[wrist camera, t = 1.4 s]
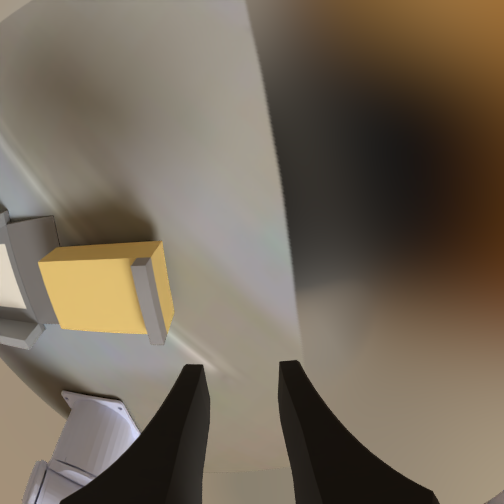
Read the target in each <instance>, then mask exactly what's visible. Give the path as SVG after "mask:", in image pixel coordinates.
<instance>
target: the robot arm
mask: <svg viewBox="0 0 504 504" xmlns="http://www.w3.org/2000/svg"><path fill="white" fill-rule="evenodd" d="M61 395H62V396H63V398H64V399H65V401H66V402H67V404H68V405H69V407H70V408H71V409H72V410H71V412H70V414H69V416H68V419H67V421H66V424H65V426H64V428H63V430H62V433H61V435H60V437H59V440H58V442H57V445H56V447H55V450H54V452H53V455H52V458H51V460H50V461H49V462H48V464H47V462H45V461H44V460H41V461H36V463H35V465H34V468H33V470H32V473H31V475H30V478H29V481H28V484H27V486H26V490H25V492H24V495H23V499H22V502H23V503H22V504H202V478H203V468H204V461H205V453H206V446H207V439H208V432H209V424H210V396H209V391H208V387H207V382H206V377H205V372H204V367H203V365H201V364H186V365H185V366H184V367H183V369H182V371H181V373H180V375H179V377H178V379H177V380H176V382H175V384H174V386H173V388H172V389H171V391H170V393H169V394H168V396H167V397H166V399H165V401H164V402H163V404H162V405H161V407H160V408H159V410H158V411H157V413H156V414H155V416H154V417H153V418H152V420H151V421H150V422H149V424H148V425H147V427H146V428H145V429H144V431H143V432H142V433H140V432H139V430H138V428H137V427H136V425H135V423H134V422H133V420H132V418H131V416H130V415H129V413H128V411H127V409H126V408H125V406H124V404H123V403H122V402H121V401H119V400H113V399H106V398H100V397H94V396H88V395H83V394H78V393H73V392H68V391H62V392H61ZM278 403H279V413H280V421H281V426H282V430H283V435H284V439H285V443H286V448H287V452H288V456H289V461H290V465H291V469H292V475H293V481H294V491H295V500H296V504H440V503H439V502H438V499H437V498H436V496H435V495H434V493H433V491H431V490H429V489H427V488H425V487H423V486H421V485H419V484H417V483H415V482H414V481H412V480H410V479H408V478H406V477H405V476H403V475H402V474H400V473H399V472H397V471H396V470H394V469H393V468H391V467H390V466H388V465H387V464H386V463H384V462H383V461H382V460H380V459H379V458H378V457H377V456H375V455H374V454H373V453H371V452H370V451H369V450H368V449H367V448H366V447H365V446H363V445H362V444H361V443H360V442H359V441H358V440H357V439H356V438H355V437H354V436H353V435H352V434H351V433H350V432H349V431H348V430H347V429H346V428H345V427H344V426H343V424H342V423H341V422H340V421H339V420H338V419H337V417H336V416H335V415H334V414H333V413H332V411H331V410H330V409H329V408H328V406H327V405H326V404H325V402H324V401H323V399H322V398H321V397H320V395H319V394H318V392H317V391H316V390H315V388H314V387H313V385H312V383H311V382H310V380H309V379H308V377H307V375H306V374H305V372H304V370H303V368H302V366H301V364H300V362H299V361H297V360H293V361H281V362H279V384H278ZM484 504H504V490H503V491H502V492H500V493H499V494H498V495H496V496H495V497H494V498H492V499H491V500H489V501H488V502H486V503H484Z"/></svg>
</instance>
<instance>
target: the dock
mask: <svg viewBox="0 0 504 504" xmlns="http://www.w3.org/2000/svg"><path fill="white" fill-rule="evenodd" d="M57 247H60V244H59V240H58V236H57V231H56V227H55V222H54V217H53V216H47V217H41V218H34V219H28V220H22V221H16V222H11V223H10V218H9V213H8V211H3V212H0V343H1V344H5V345H9V346H14V347H18V348H23V349H27V350H30V349H31V348H32V346H33V345H34V344H35V342H36V341H37V340H38V338H39V337H40V336H41V334H42V333H43V332H44V330H45V327H44V324H59V321H58V319H57V316H56V314H55V311H54V309H53V306H52V303H51V301H50V298H49V295H48V292H47V290H46V287H45V284H44V281H43V278H42V274H41V271H40V268H39V265H38V261H40V260H41V259H42V258H44V257H45V256H46V255H47V254H49V253H50V252H51V251H53V250H54V249H55V248H57Z"/></svg>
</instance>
